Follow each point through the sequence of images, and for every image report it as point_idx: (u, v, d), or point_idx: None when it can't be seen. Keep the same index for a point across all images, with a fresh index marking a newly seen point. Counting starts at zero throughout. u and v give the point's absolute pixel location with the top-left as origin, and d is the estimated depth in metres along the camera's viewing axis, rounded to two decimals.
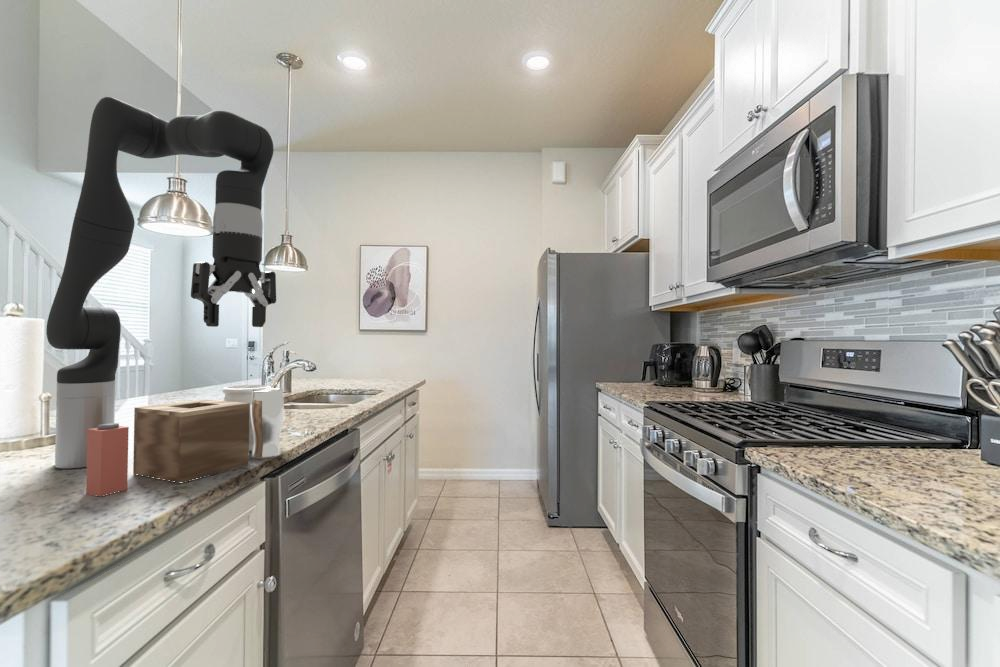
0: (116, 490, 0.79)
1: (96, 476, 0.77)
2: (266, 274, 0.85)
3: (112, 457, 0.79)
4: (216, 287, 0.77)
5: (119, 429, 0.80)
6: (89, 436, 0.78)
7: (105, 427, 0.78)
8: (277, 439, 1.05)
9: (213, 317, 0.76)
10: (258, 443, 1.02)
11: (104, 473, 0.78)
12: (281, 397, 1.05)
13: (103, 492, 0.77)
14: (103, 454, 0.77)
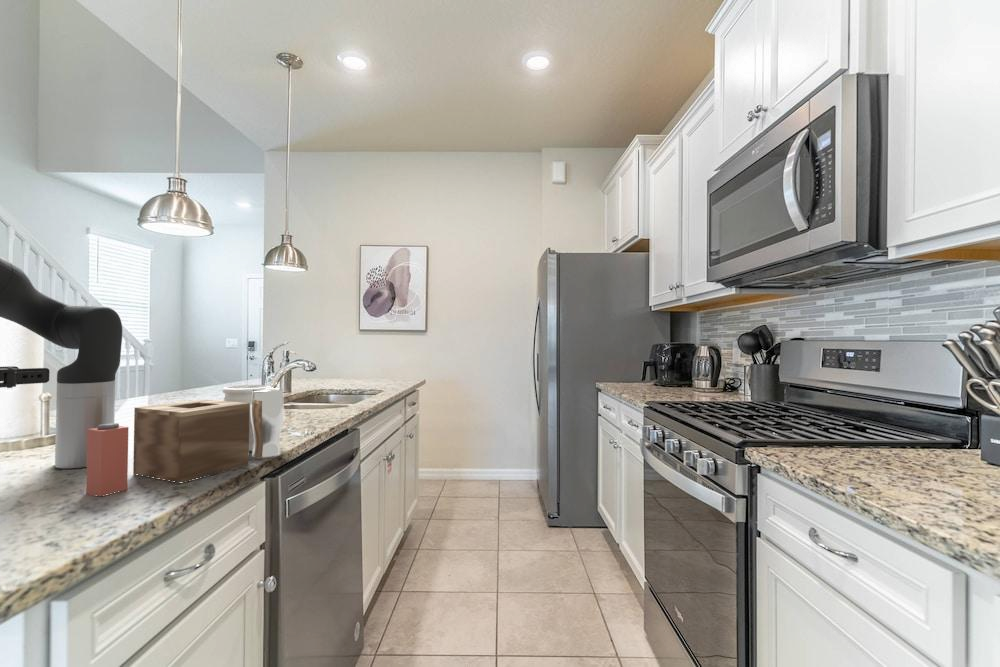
0: (116, 490, 0.79)
1: (96, 476, 0.77)
2: None
3: (112, 457, 0.79)
4: None
5: (119, 429, 0.80)
6: (89, 436, 0.78)
7: (105, 427, 0.78)
8: (277, 439, 1.05)
9: None
10: (258, 443, 1.02)
11: (104, 473, 0.77)
12: (281, 397, 1.05)
13: (103, 492, 0.77)
14: (103, 454, 0.77)
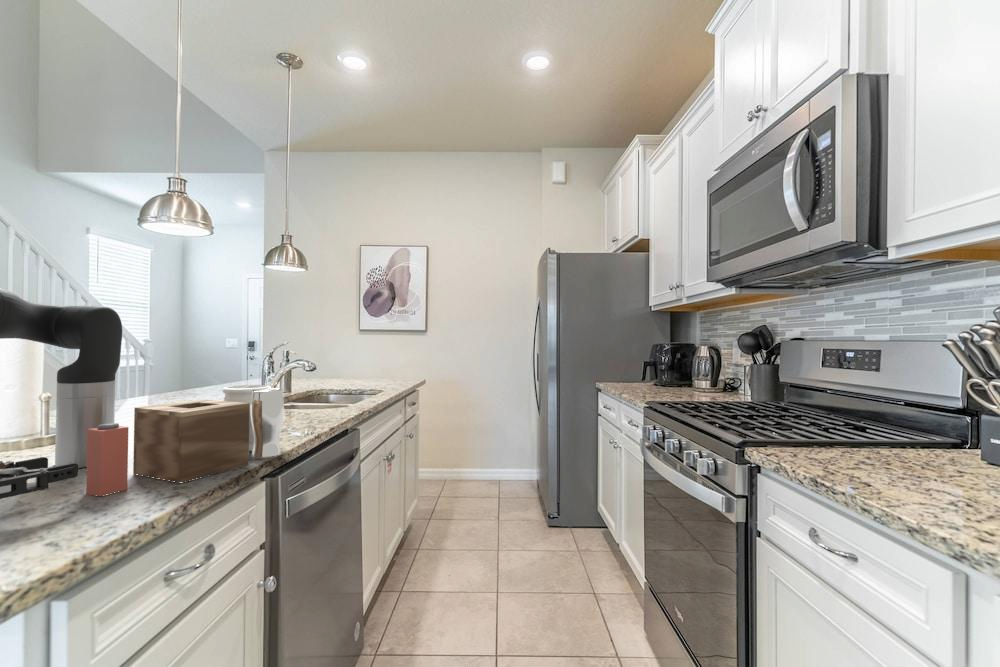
0: (116, 490, 0.79)
1: (96, 476, 0.77)
2: None
3: (112, 457, 0.79)
4: None
5: (119, 429, 0.80)
6: (89, 436, 0.78)
7: (105, 427, 0.78)
8: (277, 439, 1.05)
9: None
10: (258, 443, 1.02)
11: (104, 473, 0.77)
12: (281, 397, 1.05)
13: (103, 492, 0.77)
14: (103, 454, 0.77)
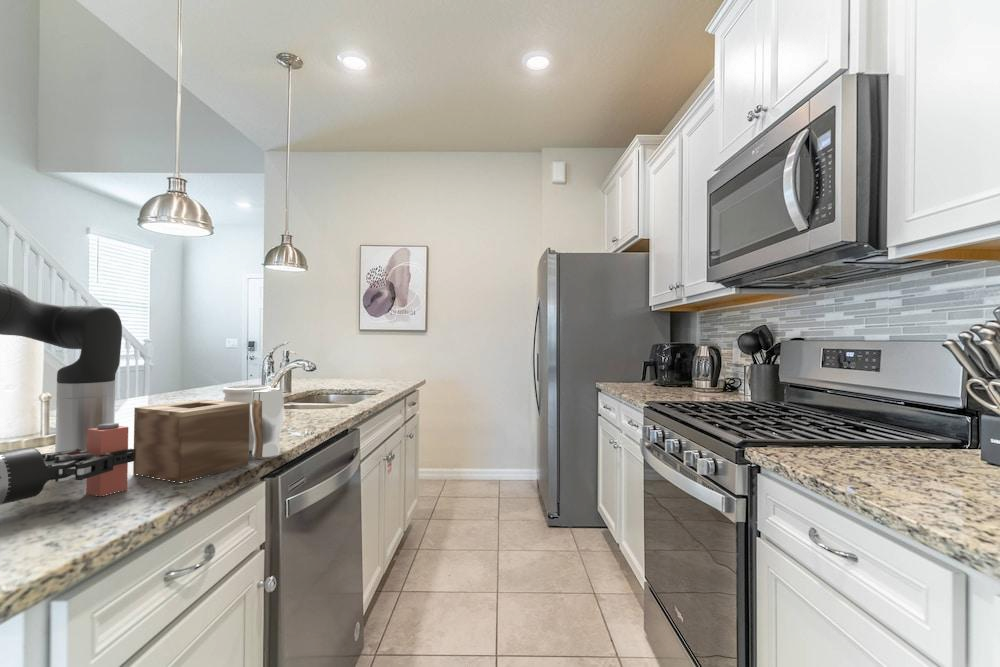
0: (116, 490, 0.79)
1: (96, 476, 0.77)
2: None
3: None
4: None
5: (119, 429, 0.80)
6: (89, 436, 0.78)
7: (105, 427, 0.78)
8: (277, 439, 1.05)
9: None
10: (258, 443, 1.02)
11: (104, 473, 0.77)
12: (281, 397, 1.05)
13: (103, 492, 0.77)
14: None
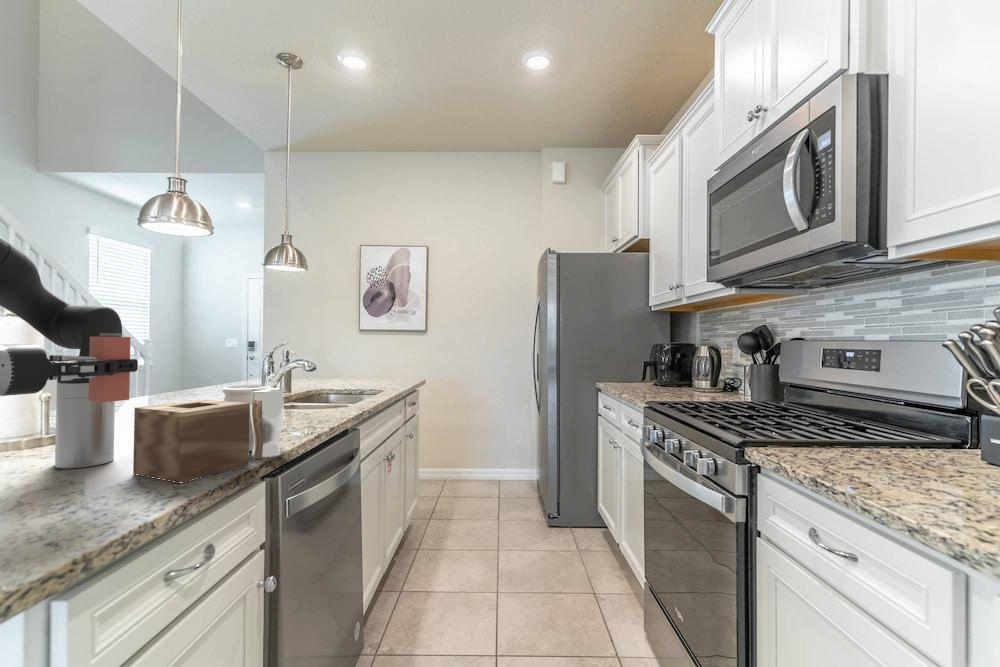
0: (118, 398, 0.79)
1: (98, 382, 0.78)
2: None
3: None
4: None
5: (121, 338, 0.80)
6: (91, 343, 0.79)
7: (107, 334, 0.79)
8: (277, 439, 1.05)
9: None
10: (258, 443, 1.02)
11: (106, 379, 0.78)
12: (281, 397, 1.05)
13: (105, 398, 0.78)
14: None
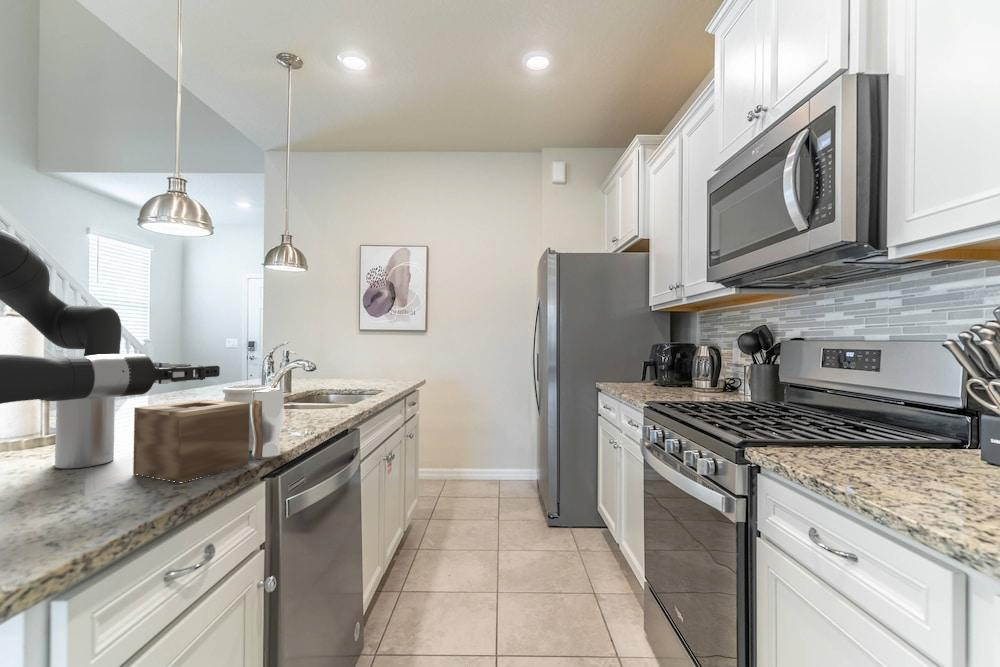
0: None
1: None
2: None
3: None
4: None
5: None
6: None
7: None
8: (277, 439, 1.05)
9: None
10: (258, 443, 1.02)
11: None
12: (281, 397, 1.05)
13: None
14: None
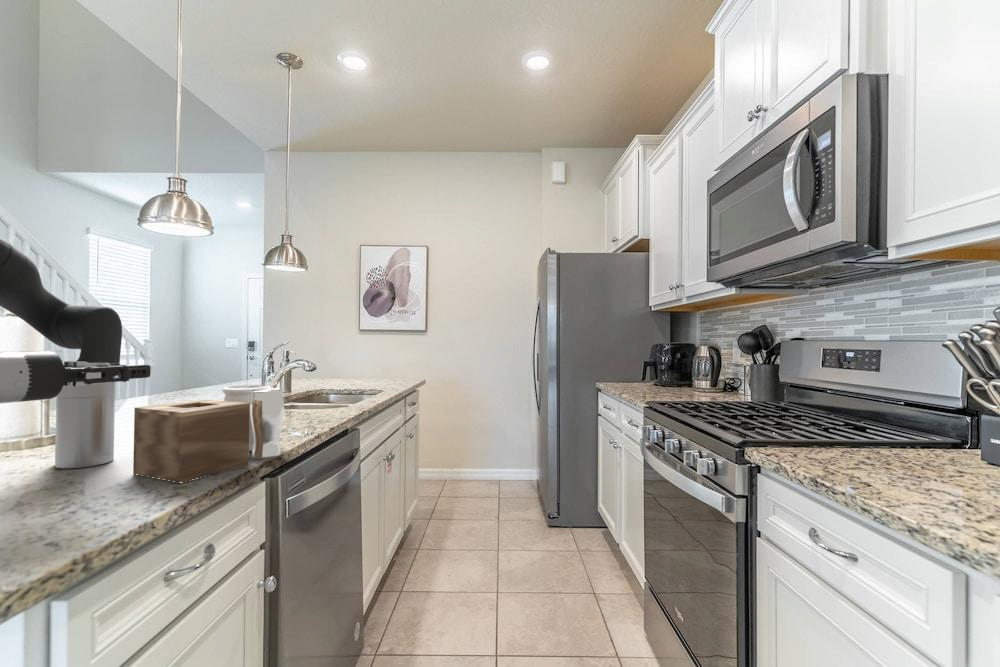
0: None
1: None
2: None
3: None
4: None
5: None
6: None
7: None
8: (277, 439, 1.05)
9: None
10: (258, 443, 1.02)
11: None
12: (281, 397, 1.05)
13: None
14: None
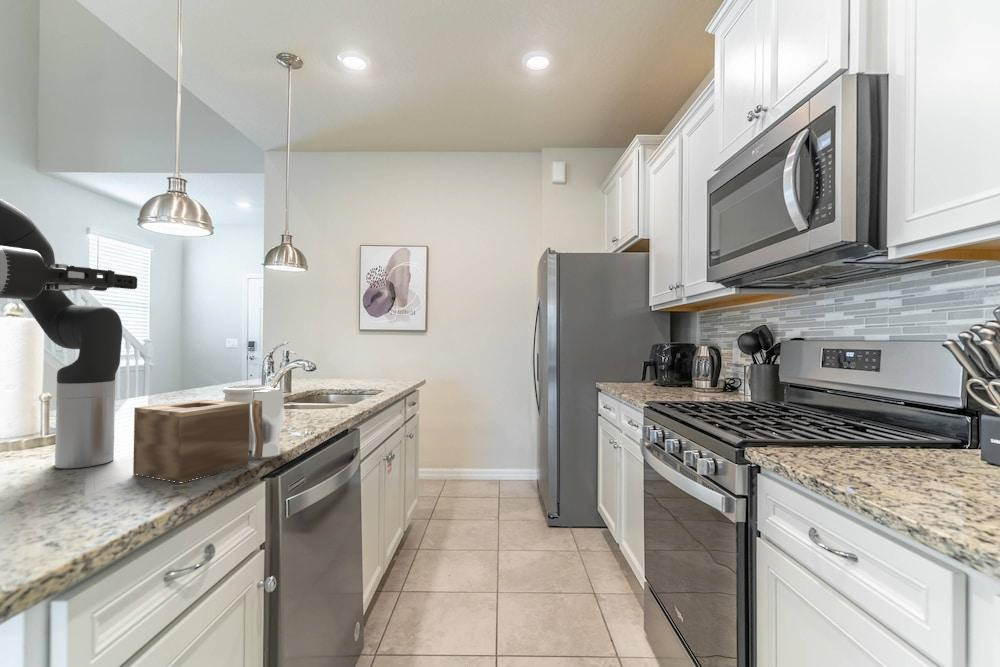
0: None
1: None
2: None
3: None
4: None
5: None
6: None
7: None
8: (277, 439, 1.05)
9: None
10: (258, 443, 1.02)
11: None
12: (281, 397, 1.05)
13: None
14: None
